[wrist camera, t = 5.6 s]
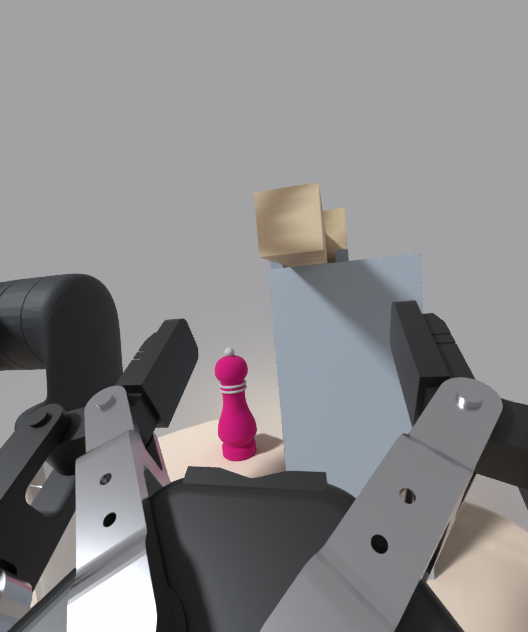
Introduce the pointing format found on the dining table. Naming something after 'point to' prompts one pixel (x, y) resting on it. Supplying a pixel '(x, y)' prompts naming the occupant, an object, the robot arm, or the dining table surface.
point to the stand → (340, 363)
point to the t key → (298, 226)
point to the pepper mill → (235, 409)
